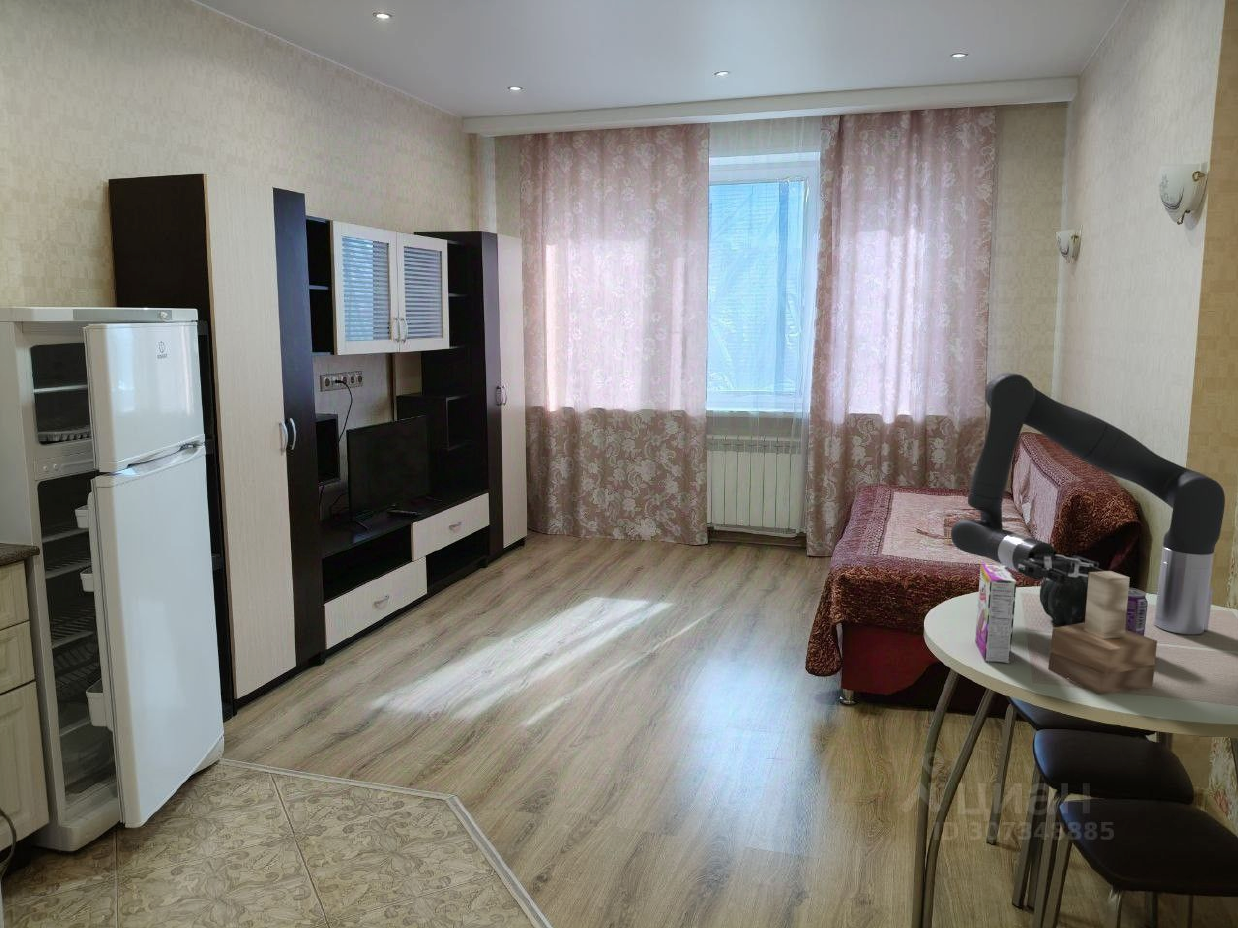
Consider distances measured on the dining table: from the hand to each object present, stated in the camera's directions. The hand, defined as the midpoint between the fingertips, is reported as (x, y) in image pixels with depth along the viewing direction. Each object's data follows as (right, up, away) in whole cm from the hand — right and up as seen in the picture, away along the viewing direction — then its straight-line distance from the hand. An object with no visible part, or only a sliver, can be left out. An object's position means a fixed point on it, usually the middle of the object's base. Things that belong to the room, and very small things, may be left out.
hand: (1085, 578), depth 174 cm
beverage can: (+13, -16, +12) cm, 23 cm away
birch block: (+1, -9, -5) cm, 11 cm away
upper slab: (+1, -14, -4) cm, 15 cm away
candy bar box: (-14, -16, +9) cm, 23 cm away
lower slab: (+1, -18, -3) cm, 19 cm away
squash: (+11, -13, +26) cm, 31 cm away
